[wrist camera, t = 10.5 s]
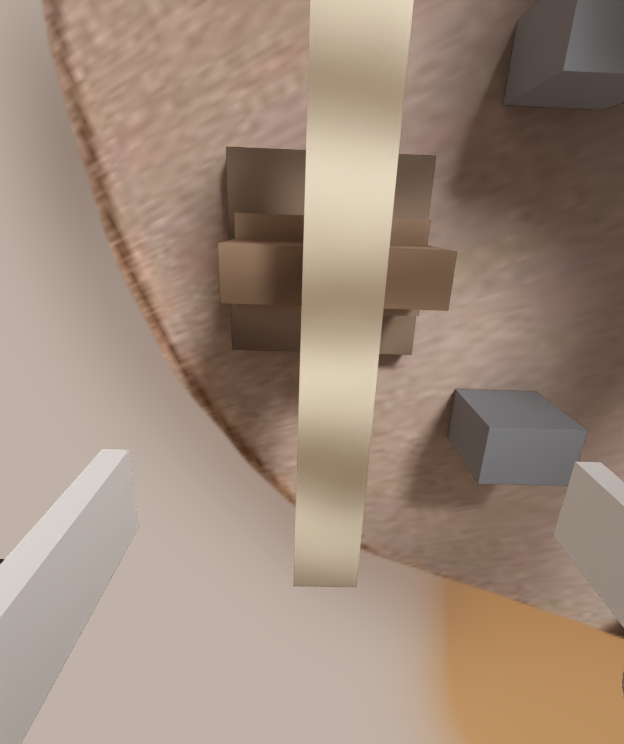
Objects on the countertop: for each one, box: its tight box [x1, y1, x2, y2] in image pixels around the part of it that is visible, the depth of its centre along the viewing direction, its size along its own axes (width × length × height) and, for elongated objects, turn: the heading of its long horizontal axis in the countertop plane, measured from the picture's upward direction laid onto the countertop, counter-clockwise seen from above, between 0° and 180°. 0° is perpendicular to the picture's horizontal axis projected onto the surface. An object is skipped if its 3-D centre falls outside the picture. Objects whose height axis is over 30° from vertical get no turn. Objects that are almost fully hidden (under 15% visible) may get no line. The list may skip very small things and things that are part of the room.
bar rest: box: [448, 0, 624, 486], centre depth 25 cm, size 26×6×6 cm, turn 178°
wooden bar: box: [294, 0, 414, 587], centre depth 16 cm, size 28×3×3 cm, turn 178°
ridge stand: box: [218, 147, 457, 355], centre depth 22 cm, size 12×12×10 cm
